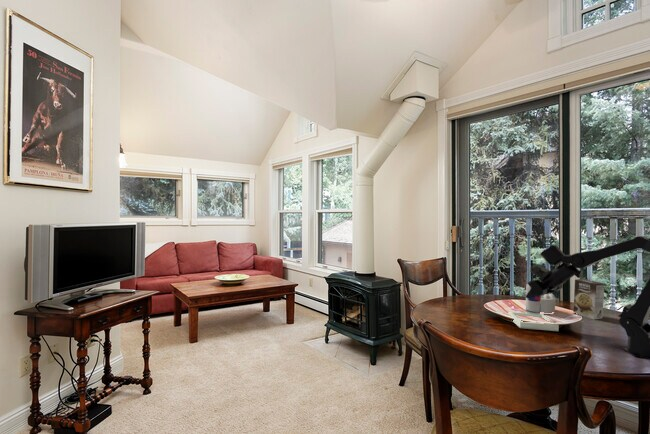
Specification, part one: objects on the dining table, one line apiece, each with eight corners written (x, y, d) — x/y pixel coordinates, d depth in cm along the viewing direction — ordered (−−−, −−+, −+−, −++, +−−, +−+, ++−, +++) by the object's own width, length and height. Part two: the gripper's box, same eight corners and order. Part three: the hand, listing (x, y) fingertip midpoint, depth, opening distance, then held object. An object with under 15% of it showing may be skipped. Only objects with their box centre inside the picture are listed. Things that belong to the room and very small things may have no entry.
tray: (558, 331, 132) (558, 325, 132) (520, 328, 135) (520, 322, 135) (542, 319, 146) (543, 314, 146) (508, 316, 149) (508, 311, 149)
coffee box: (572, 313, 156) (573, 279, 155) (581, 312, 158) (583, 278, 157) (594, 319, 147) (595, 283, 147) (603, 318, 149) (605, 282, 149)
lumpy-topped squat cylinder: (552, 308, 163) (552, 291, 162) (557, 316, 151) (558, 297, 151) (527, 305, 167) (527, 288, 167) (530, 313, 155) (531, 294, 155)
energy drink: (539, 315, 136) (540, 286, 136) (524, 312, 140) (525, 284, 140) (541, 312, 141) (542, 284, 140) (526, 310, 144) (527, 282, 144)
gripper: (554, 257, 142) (526, 278, 151) (533, 260, 131) (505, 283, 141) (576, 278, 135) (545, 299, 145) (555, 284, 125) (524, 306, 134)
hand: (529, 296), depth 141 cm, fingers closed on energy drink, 5 cm apart
